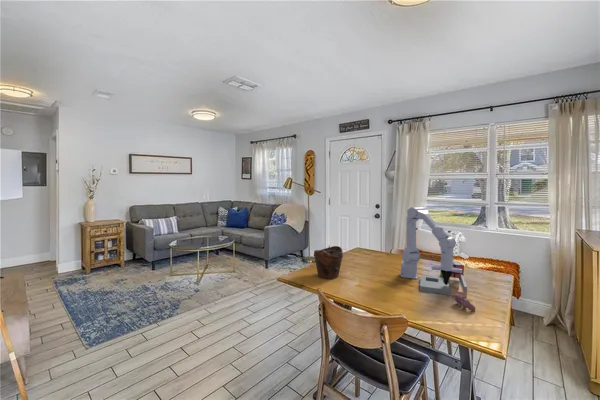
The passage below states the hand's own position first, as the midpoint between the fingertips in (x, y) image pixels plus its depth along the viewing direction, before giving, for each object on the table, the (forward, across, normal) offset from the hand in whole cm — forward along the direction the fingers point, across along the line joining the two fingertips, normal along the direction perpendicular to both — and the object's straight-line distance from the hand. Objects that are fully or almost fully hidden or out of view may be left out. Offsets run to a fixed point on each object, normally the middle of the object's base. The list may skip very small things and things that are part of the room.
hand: (445, 284), depth 151 cm
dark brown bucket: (+4, -66, -5) cm, 66 cm away
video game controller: (+4, +6, -19) cm, 20 cm away
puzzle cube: (+4, +4, +23) cm, 24 cm away
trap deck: (+3, -2, +4) cm, 6 cm away
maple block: (+1, +4, 0) cm, 4 cm away
